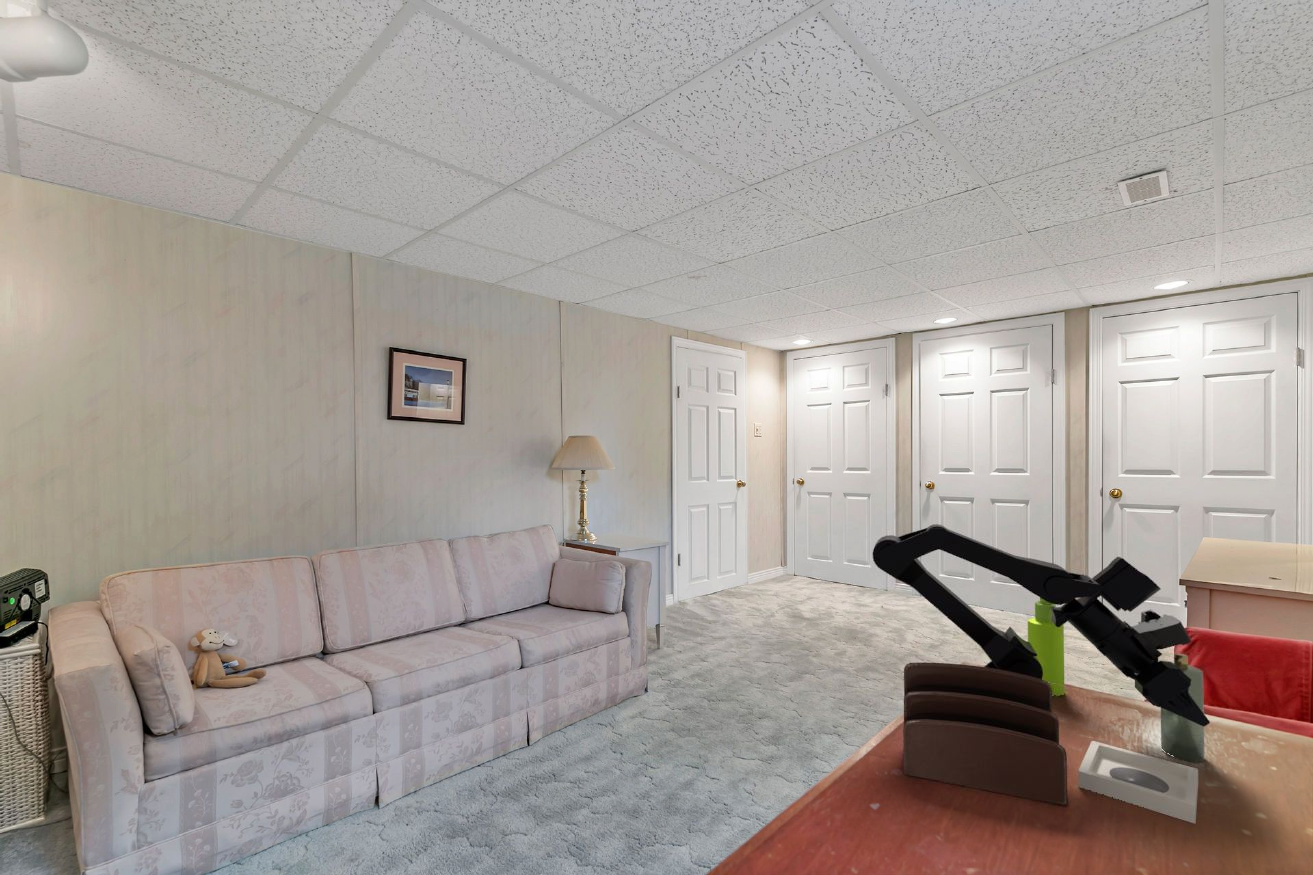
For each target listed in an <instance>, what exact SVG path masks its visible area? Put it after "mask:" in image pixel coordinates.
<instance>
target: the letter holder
mask: <svg viewBox="0 0 1313 875" xmlns="http://www.w3.org/2000/svg"><path fill="white" fill-rule="evenodd" d="M902 729H903V730H902V734H903V740H902V741H903V774H904V775H905V776H908V777H913V778H919V779H923V780H929V781H934V782H937V783H938V782H940V783H943V784H947V785H948V784H949V785H953V786H954V785H955V786H960V787H962V788H963V787H964V788H970V789H974V790H980V791H985V792H991V793H995V794H1000V795H1006V796H1012V797H1015V798H1016V797H1017V798H1020V799H1024V800H1025V799H1027V800H1030V801H1037V802H1039V803H1040V802H1041V803H1046V804H1051V805H1057V806H1062V807H1068V806H1069V797H1068V764H1067V763H1068V762H1067V760H1068V759H1067V758H1068V755H1067V751H1066V749H1065V748H1064V746H1063V745H1061V744H1060V722H1059V718H1058V716H1057V715H1056V714H1055V713H1053V696H1052V689H1051V686H1050V684H1049V683H1048V682H1046V681H1044V680H1042V679H1039V678H1036V677H1032V676H1028V675H1024V674H1019V673H1015V672H1010V671H1005V670H1000V669H994V668H987V667H984V666H979V665H970V664H960V663H948V662H947V663H946V662H945V663H944V662H909V663H907V664H906V665H905V666H904V668H903V728H902Z"/></svg>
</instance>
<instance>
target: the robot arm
mask: <svg viewBox="0 0 1313 875" xmlns="http://www.w3.org/2000/svg"><path fill="white" fill-rule="evenodd" d="M938 550H940V551H942V552H944V553H947V554H950V555H952V556H955V557H956V558H960V559H961V560H964V561H967V562H970V563H971V564H974V565H977V566H979V567H982V568H984V569H987V570H989V571H991V572H994V573H996V574H998V575H1001V576H1004V577H1006V578H1008V579H1010V580H1011V581H1013V582H1015V583H1017V584H1018V585H1020V586H1022V587H1023V588H1024V589H1026V590H1027V591H1029V592H1030V593H1032V594H1033V595H1035V596H1037V597H1039V599H1040V598H1042V599H1044V600H1045V601H1047V602H1049V603H1051V604H1055V606H1056V605H1057V606H1058V607H1057V606H1056V607H1051V608H1050V609H1051V611H1052V618H1051V621H1052V622H1053V623H1054V624H1055V626H1056V627H1060V626H1062V625H1063V624H1066V623H1067V622H1068V623H1069V624H1070V625H1071V626H1072V627H1074V629H1076V630H1077V632H1079V633H1080V634H1081V635H1082V636H1083V637H1084V639H1086V640H1087V641H1089V643H1090V644H1091V645H1093V647H1095V649H1097V650H1098V651H1099V652H1100V654H1101V655H1102V656H1104V657H1106V658H1107V660H1109V662H1110V663H1111V664H1113V665H1114V666H1115V667H1116V669H1118V670H1119V671H1120V672H1121V673H1123V675H1125V677H1127V678H1130V679H1132V680H1134V688H1135V689H1136V690H1137V691H1138V692H1139V693H1140V694H1141V696H1142V697H1143V698H1145V699H1146V700H1147V701H1148V702H1149V703H1150V704H1151V705H1152V706H1154V707H1156V708H1160V709H1161V708H1163V709H1165V710H1168V711H1170V712H1172V713H1175V714H1177V715H1179V716H1181V717H1184V718H1186V719H1188V720H1190V721H1192V722H1195V723H1197V724H1199V725H1201V726H1204V727H1206V726H1208V725H1210V724H1211V722H1210V720H1209V718H1208V717H1207V716H1206V715H1205V712H1204V713H1203V712H1202V711H1201V709H1200V708H1199V707H1198V705H1197V704H1196V703H1195V701H1194V700H1193V699H1192V697H1191V696H1190V694H1189V692H1188V691H1189V687H1190V685H1191V679H1190V678H1189V677H1188V676H1187V675H1186V674H1185V673H1183V672H1182V671H1181V670H1180V669H1179V668H1178V667H1176V666H1175V665H1174V664H1173V663H1174V662H1172V661H1169V660H1168V661H1167V660H1159V658H1160V657H1161V656H1162V655H1163V653H1162V652H1160V650H1164V649H1168V648H1172V647H1176V646H1179V645H1182V646H1185V645H1187V644H1190V643H1192V638H1191V637H1190V636H1189V633H1188V632H1187V630H1186V628H1185V627H1184V625H1183V624H1182V622H1181V620H1180V619H1178V618H1177V617H1175V616H1174V615H1167V614H1162V616H1161V615H1160V614H1158V613H1157V612H1156V611H1154V610H1153V609H1147V610H1145V611H1141V614H1140V621H1138V622H1137V623H1138V624H1135V625H1132V626H1131V625H1130V624H1129V623H1128V622H1126V621H1125V620H1123V621H1122V619H1120V618H1119V617H1118V616H1117V615H1116V614H1115V613H1114V612H1113V611H1112V610H1110V609H1109V608H1108V607H1107V606H1106V605H1105V604H1104V603H1103V602H1102V601H1101V600H1100V599H1098V598H1100V597H1101V598H1102V599H1103V600H1104V601H1105V602H1106V603H1108V604H1109V605H1110V606H1112V607H1113V608H1114V609H1115V610H1116V611H1117V612H1119V611H1121V610H1122V611H1124V612H1126V611H1128V612H1130V613H1131V612H1132V611H1134V610H1135V609H1137V608H1138V607H1139V606H1141V605H1142V604H1143V603H1144V602H1146V601H1147V600H1148V599H1150V598H1151V597H1152V596H1154V595H1155V594H1157V593H1158V592H1160V591H1161V589H1162V588H1161V587H1160V586H1159V585H1158V584H1157V583H1156V582H1154V581H1153V580H1152V578H1150V577H1149V576H1148V575H1146V574H1145V573H1144V572H1141V571H1140V570H1138V569H1137V568H1136V567H1135V566H1134V565H1132V564H1131V563H1129V562H1128V561H1127V560H1126V559H1124V558H1123V557H1121V556H1116V557H1115V558H1114V559H1113V560H1111V562H1110V563H1109V564H1108V565H1107V566H1106V567H1105V568H1103V569H1102V570H1101V571H1100V572H1098V573H1097V574H1095V575H1094V576H1093V577H1092V578H1091V576H1089V575H1086V574H1085V575H1084V574H1080V573H1075V572H1069V571H1067V570H1066V569H1065V568H1064V567H1063V566H1061V565H1059V564H1056V563H1053V562H1048V561H1044V560H1040V559H1036V558H1030V557H1026V556H1025V557H1024V556H1019V555H1015V554H1013V553H1010V552H1008V551H1004V550H1001V549H999V548H997V547H994V546H991V545H989V544H986V543H984V542H982V541H979V540H976V539H974V538H972V537H969V536H966V535H965V534H961V533H960V532H956V531H954V530H951V529H948V528H947V527H946V526H944V525H942V524H938V523H936V524H931V525H929V526H927V527H925V528H923V529H918V530H916V531H912V532H909V533H906V534H903V535H900V536H896V535H884V536H882V537H880V538H879V539H878V540H877V541H876V542H875V545H874V546H873V549H872V559H873V562H874V564H875V566H876V567H877V568H878V569H880V570H881V571H882V572H884V573H886V574H888V575H889V576H891V577H893V578H894V579H895V580H897V581H899V582H902V583H903V584H906V585H908V586H910V587H911V588H913V589H914V590H915V591H916V592H917V593H918V594H919V595H921V596H922V597H923V598H924V599H925V600H926V601H928V602H929V603H930V604H931V605H933V607H934V608H936V610H938V611H939V612H940V613H942V614H943V615H944V616H945V617H946V618H947V619H948V620H949V621H951V622H952V623H953V624H954V625H955V626H956V627H958V628H959V629H960V630H961V631H962V632H963V633H964V634H965V635H966V636H968V637H969V638H970V639H971V640H972V641H974V642H975V643H976V644H977V645H978V646H979V647H980V648H981V650H983V651H984V653H985V655H986V656H987V657H988V658H989V659H990V662H987V664H985V665H984V666H983V667H987V668H994V669H1000V670H1005V671H1010V672H1015V673H1019V674H1024V675H1028V676H1032V677H1036V678H1039V679H1042V676H1043V669H1042V666H1041V664H1040V662H1039V661H1038V659H1037V657H1036V656H1037V653H1036V652H1035V650H1034V648H1033V647H1032V645H1031V644H1030V642H1028V640H1025V639H1024V638H1022V637H1020V636H1019V635H1018V634H1017V632H1016V631H1015V630H1014V629H1013V628H1012V627H1011V626H1009V627H1008V628H1007V630H1006V631H1005V632H1004V631H1003V630H1001V629H999V628H998V627H995V626H993V625H992V624H991V623H990V622H989V621H987V619H985V618H984V617H983V616H982V615H981V614H979V613H978V612H977V611H976V610H975V609H974V608H972V607H971V606H970V605H968V604H967V603H966V602H965V601H964V600H963V599H961V598H960V597H959V596H958V595H957V594H955V593H954V591H952V590H951V589H949V587H947V586H946V585H945V584H944V583H943V582H942V581H940V580H939V579H938V578H936V576H934V574H932V573H931V572H930V571H928V569H926V567H925V566H924V564H922V562H921V561H920V559H919V558H921V557H923V556H925V555H927V554H930V553H933V552H935V551H938ZM1077 598H1078V599H1077ZM1061 605H1062V606H1061Z"/></svg>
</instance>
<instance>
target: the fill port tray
mask: <svg viewBox="0 0 1313 875" xmlns="http://www.w3.org/2000/svg"><path fill="white" fill-rule="evenodd" d="M1077 773H1078V776H1077V777H1078V781H1077V782H1078V788H1080V789H1083V788H1084V789H1083V790H1086V791H1089V790H1091V791H1090V792H1093V793H1096V792H1097V794H1099V795H1102V794H1104V795H1103V796H1105V795H1106V796H1105V797H1109V798H1112V797H1113V798H1112V799H1115V800H1118V799H1119V800H1118V801H1121V800H1122V801H1121V802H1124V801H1125V803H1128V804H1131V803H1132V804H1131V805H1134V806H1137V805H1138V806H1137V807H1140V808H1143V807H1144V809H1146V810H1150V811H1153V812H1157V813H1160V814H1163V815H1166V816H1168V817H1169V816H1170V817H1172V818H1175V819H1180V820H1182V821H1185V822H1188V823H1191V824H1195V825H1196V823H1197V822H1196V820H1197V811H1198V810H1197V808H1198V807H1197V806H1198V796H1199V795H1198V792H1199V769H1198V768H1196V767H1192V766H1187V765H1184V764H1180V763H1177V762H1173V761H1169V760H1165V759H1163V758H1159V757H1158V758H1157V757H1154V756H1151V755H1146V754H1143V753H1139V752H1136V751H1134V750H1133V751H1132V750H1129V749H1125V748H1120V747H1118V746H1114V745H1110V744H1107V743H1102V742H1100V741H1099V742H1098V741H1094V740H1091V741H1090V745H1089V746H1088V749H1087V751H1086V753H1085V755H1084V758H1083V759H1082V761H1081V764H1080V766H1079V769H1078V772H1077Z"/></svg>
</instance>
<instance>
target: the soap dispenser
mask: <svg viewBox="0 0 1313 875" xmlns="http://www.w3.org/2000/svg"><path fill="white" fill-rule="evenodd" d="M1051 607H1057V606H1056V605H1055V604H1051V603H1049V602H1047V601H1045V600H1044V599H1042V598H1040V597H1039V600H1038V601H1035V603H1034V617H1031V618H1028V619H1027V642H1030V644H1031V645H1032V647H1033V648H1034V650H1035V652H1036V653H1037V656H1036V657H1037V659H1038V661H1039V662H1040V664H1041V666H1042V669H1043V676H1042V680H1044V681H1046V682H1050V683H1049V684H1050V686H1051V689H1052V695H1056V696H1055V697H1061V696H1060V695H1062V696H1063V695H1065V633H1064V632H1065V628H1064V624H1065V623H1064V624H1063V625H1062V626H1060V627H1056V626H1055V624H1054V623H1053V622H1052V621H1051V618H1052V611H1051V609H1050V608H1051ZM1052 683H1056V684H1052ZM1057 684H1061V685H1064V686H1060V685H1057Z"/></svg>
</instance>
